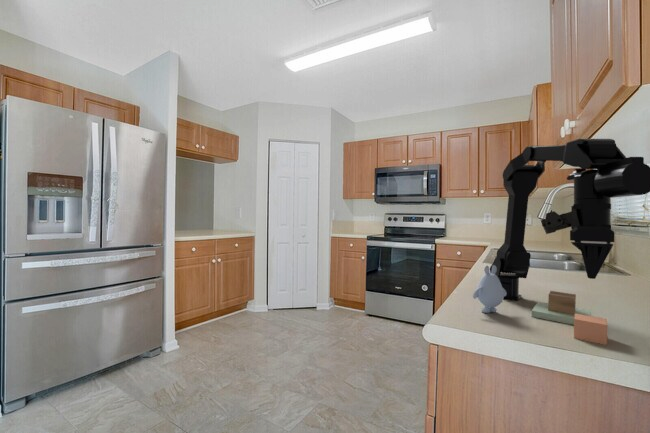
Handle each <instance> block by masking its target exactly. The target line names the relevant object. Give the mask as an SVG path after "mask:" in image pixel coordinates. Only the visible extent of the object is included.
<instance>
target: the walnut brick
mask: <svg viewBox="0 0 650 433" xmlns="http://www.w3.org/2000/svg"><path fill="white" fill-rule="evenodd" d="M576 296H577V295H576V293H569V292H561V291H555V290H550V291H549V293H548V300H547V303H548V311H554V312H560V313H565V314H571V315H574V314H575V308H576V306H577V305H576V298H577V297H576Z"/></svg>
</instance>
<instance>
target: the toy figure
mask: <svg viewBox="0 0 650 433" xmlns="http://www.w3.org/2000/svg"><path fill="white" fill-rule="evenodd" d="M483 271H484V274H483V275H482V277H481V279H480V280H479V282H478V285H477V286H476V287H477V288H476V290H474V292H473V294H472V298H473V299H477V300H478V301H479V302H480V303H481V304H482V305H483V306H484V307H483V308H481V310H480V311H481V312H482V313H484V314H489V313H490V312H491V313H496V312H497V308H496V307H498V306H500V305H501V304H502V303H503V301H504V299H505V298H504V296H506V295H507V293H506V291H505V289H504V288H502V285H501V283H500V281H499V279H498V277H497V276H496V275H495V273H496V271H497V268H496V266H495V265H493V266H492V273H490V267H489V265H485V266H484V269H483Z"/></svg>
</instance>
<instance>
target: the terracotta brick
mask: <svg viewBox="0 0 650 433" xmlns="http://www.w3.org/2000/svg"><path fill="white" fill-rule="evenodd" d="M573 339H577V340H581V341H586V342H591V343H595V344H599V343H600V345H604V344H606V345H605V346H608V320H607V318H603V317H597V316H593V315H591V316H587V315H581V314H575V317H574V325H573Z"/></svg>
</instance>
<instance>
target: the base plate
mask: <svg viewBox="0 0 650 433" xmlns="http://www.w3.org/2000/svg"><path fill="white" fill-rule="evenodd" d="M575 314H581V315H587V316H592V310H591V309H585V308H579V307H575ZM575 314H574V315H571V314H565V313H560V312H554V311H548V302H542V301H537V303H536V304H535V305H534V306H533V307H532V309H531V317H532V318H537V319H543V320H547V321H553V322H557V323H563V324H568V325H573V326H574V317H575Z"/></svg>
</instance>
